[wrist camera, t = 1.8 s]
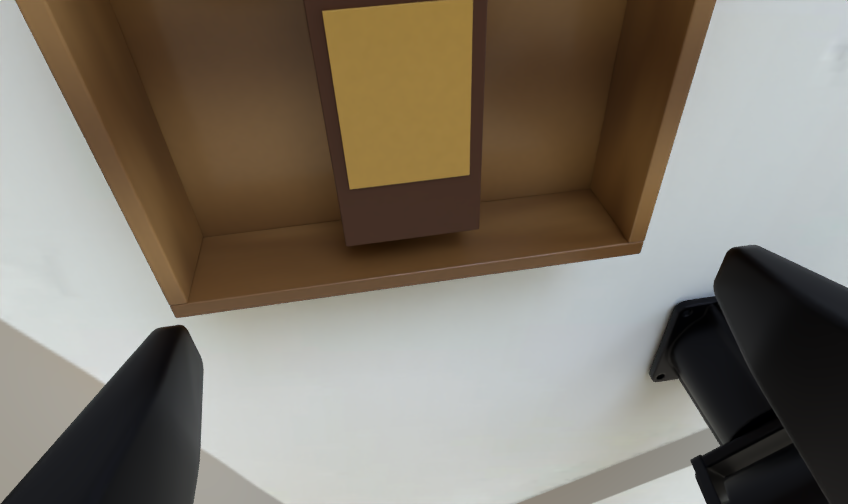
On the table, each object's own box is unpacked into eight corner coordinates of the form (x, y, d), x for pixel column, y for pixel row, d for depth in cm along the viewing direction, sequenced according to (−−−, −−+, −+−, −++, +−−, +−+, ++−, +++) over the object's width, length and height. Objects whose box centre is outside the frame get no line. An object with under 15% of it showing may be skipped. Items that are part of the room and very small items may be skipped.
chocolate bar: (459, 177, 20) (480, 231, 18) (341, 191, 20) (346, 249, 17) (461, -133, 14) (494, -116, 11) (289, -122, 14) (284, -102, 11)
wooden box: (595, 190, 22) (641, 254, 19) (195, 240, 21) (175, 319, 18) (683, -239, 14) (791, -247, 11) (10, -206, 12) (-90, -204, 9)
